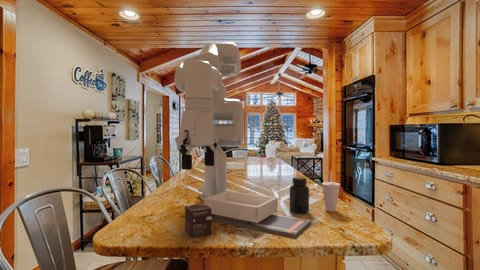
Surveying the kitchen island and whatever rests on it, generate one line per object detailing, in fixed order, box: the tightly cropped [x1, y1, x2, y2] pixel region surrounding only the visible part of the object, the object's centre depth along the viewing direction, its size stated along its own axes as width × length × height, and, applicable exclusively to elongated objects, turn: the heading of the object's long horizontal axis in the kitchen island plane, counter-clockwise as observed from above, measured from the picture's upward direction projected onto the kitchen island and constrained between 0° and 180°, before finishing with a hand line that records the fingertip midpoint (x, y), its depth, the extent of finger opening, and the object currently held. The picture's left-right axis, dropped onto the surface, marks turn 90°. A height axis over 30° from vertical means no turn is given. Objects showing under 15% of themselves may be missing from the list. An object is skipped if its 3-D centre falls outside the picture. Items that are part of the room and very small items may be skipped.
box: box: [184, 203, 213, 239], centre depth 79 cm, size 6×6×7 cm
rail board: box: [212, 213, 312, 239], centre depth 90 cm, size 33×14×1 cm, turn 58°
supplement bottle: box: [289, 176, 310, 215], centre depth 100 cm, size 7×7×12 cm
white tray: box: [202, 190, 278, 223], centre depth 93 cm, size 20×14×5 cm
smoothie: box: [321, 171, 341, 212], centre depth 102 cm, size 6×6×14 cm
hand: (198, 167), depth 79 cm, fingers open, 9 cm apart
